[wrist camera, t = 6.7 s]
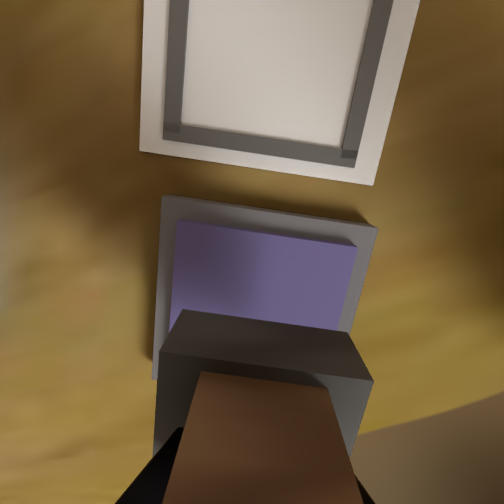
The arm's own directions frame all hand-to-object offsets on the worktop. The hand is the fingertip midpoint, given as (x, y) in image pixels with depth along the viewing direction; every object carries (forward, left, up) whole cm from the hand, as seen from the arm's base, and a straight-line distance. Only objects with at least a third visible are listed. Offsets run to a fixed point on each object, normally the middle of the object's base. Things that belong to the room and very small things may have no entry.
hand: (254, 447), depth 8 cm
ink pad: (0, 0, -9) cm, 9 cm away
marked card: (+1, -14, -9) cm, 17 cm away
